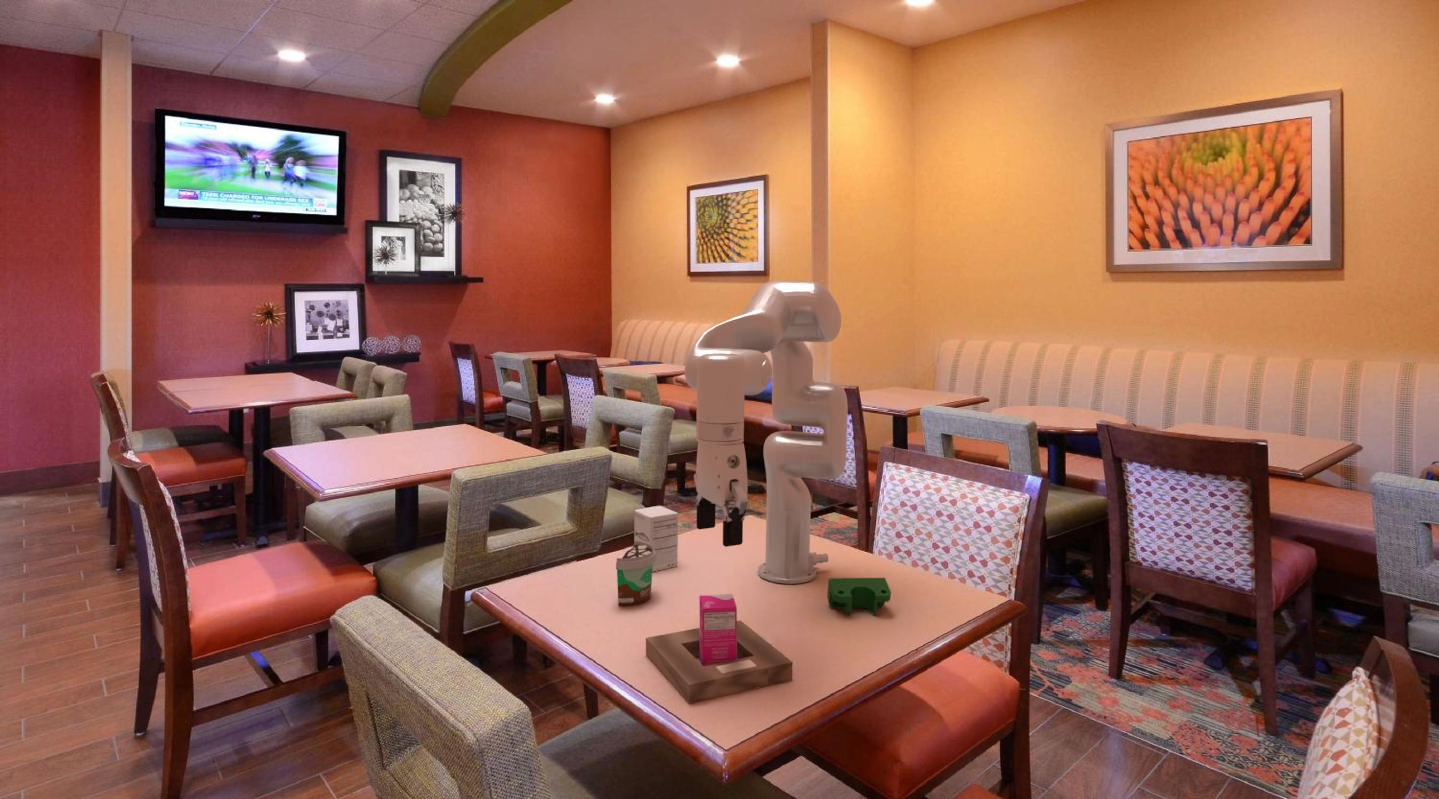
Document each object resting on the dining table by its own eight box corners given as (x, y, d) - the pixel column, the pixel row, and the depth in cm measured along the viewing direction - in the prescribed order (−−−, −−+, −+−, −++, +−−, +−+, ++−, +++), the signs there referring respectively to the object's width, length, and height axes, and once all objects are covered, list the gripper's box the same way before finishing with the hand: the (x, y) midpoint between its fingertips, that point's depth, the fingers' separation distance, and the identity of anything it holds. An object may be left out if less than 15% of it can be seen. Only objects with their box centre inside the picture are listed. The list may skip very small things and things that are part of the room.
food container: (646, 611, 155) (646, 561, 154) (615, 608, 157) (615, 559, 155) (663, 588, 167) (663, 542, 166) (634, 586, 169) (635, 539, 167)
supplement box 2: (698, 659, 136) (699, 593, 134) (733, 658, 136) (734, 593, 135) (701, 675, 130) (702, 607, 129) (737, 674, 131) (738, 606, 129)
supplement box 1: (633, 563, 182) (633, 509, 181) (661, 557, 187) (661, 504, 185) (650, 573, 176) (650, 517, 175) (678, 566, 181) (679, 512, 179)
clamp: (840, 635, 156) (826, 599, 153) (834, 616, 162) (820, 581, 159) (899, 614, 155) (886, 578, 152) (891, 595, 161) (878, 560, 158)
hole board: (740, 636, 145) (740, 619, 145) (792, 679, 129) (792, 660, 129) (645, 654, 137) (645, 636, 137) (688, 703, 121) (689, 683, 121)
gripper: (767, 439, 122) (765, 549, 124) (717, 421, 137) (716, 519, 140) (723, 443, 119) (721, 555, 121) (676, 424, 134) (676, 524, 136)
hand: (718, 536), depth 130 cm, fingers open, 9 cm apart
